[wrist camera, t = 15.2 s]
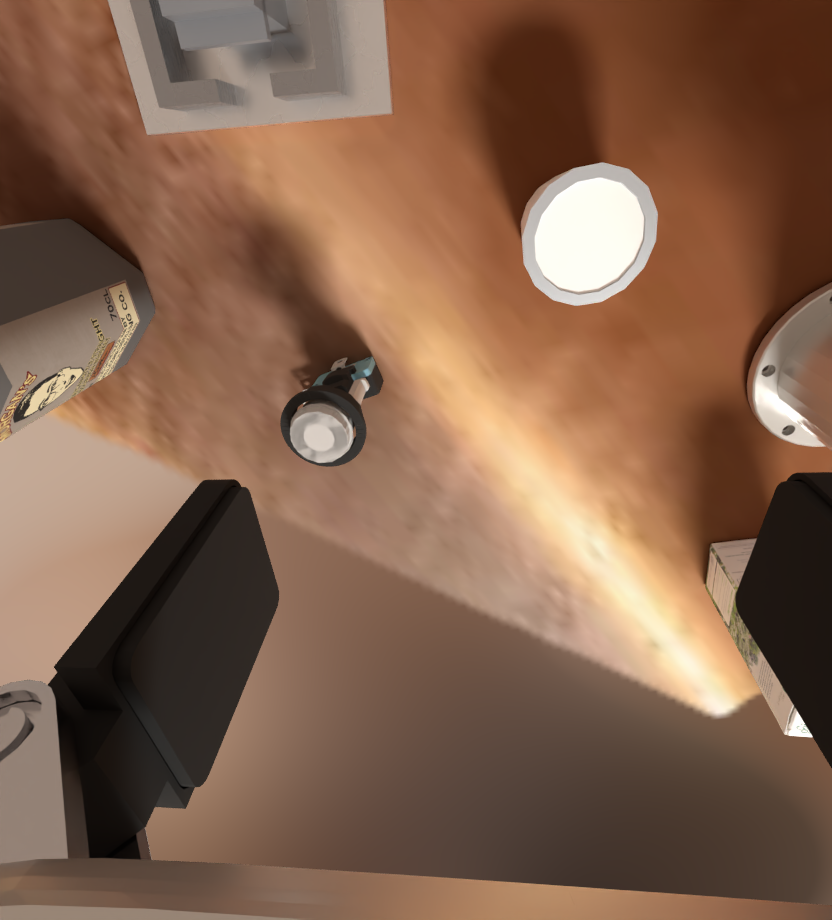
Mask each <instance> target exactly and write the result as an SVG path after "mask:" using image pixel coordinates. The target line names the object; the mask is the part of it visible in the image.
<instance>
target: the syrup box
mask: <svg viewBox="0 0 832 920" xmlns="http://www.w3.org/2000/svg"><path fill="white" fill-rule="evenodd" d="M756 540H757V538H755V539H745V540H736V541H729V542H720V543H712V544H710V551H709V561H708V569H707V578H706V586H705V587H706V590H707V592H708V594H709V596H710V597H711V599H712V601H713V603H714V605H715V607H716V609H717V610H718V612H719V614H720V616H721V618H722V620H723V621H724V623H725V625H726V627H727V629H728V631H729V633H730V635H731V636H732V638H733V640H734V642H735V644H736V646H737V648H738V650H739V651H740V653H741V655H742V657H743V659H744V661H745V662H746V664H747V666H748V668H749V670H750V672H751V673H752V675H753V677H754V679H755V681H756V683H757V684H758V686H759V688H760V690H761V692H762V694H763V695H764V697H765V699H766V701H767V703H768V705H769V706H770V708H771V710H772V712H773V714H774V716H775V717H776V719H777V721H778V723H779V725H780V727H781V728H782V731H783V733H784V734H786V735H789V736H801V737H813V736H812V735H811V733H810V732H809V730H808V728H807V727H806V725H805V723H804V722H803V720H802V718H801V717H800V715H799V713H798V712H797V710H796V708H795V707H794V705H793V703H792V702H791V700H790V698H789V697H788V695H787V694H786V692H785V690H784V689H783V687H782V685H781V684H780V682H779V680H778V679H777V677H776V675H775V674H774V672H773V670H772V669H771V667H770V665H769V664H768V662H767V660H766V659H765V657H764V656H763V654H762V652H761V651H760V649H759V647H758V646H757V644H756V642H755V641H754V639H753V637H752V636H751V634H750V632H749V631H748V629H747V627H746V626H745V624H744V623H743V621H742V619H741V618H740V616H739V614H738V612H737V608H736V603H735V596H736V592H737V589H738V587H739V584H740V581H741V579H742V576H743V574H744V571H745V568H746V566H747V563H748V561H749V558H750V555H751V553H752V550H753V548H754V545H755V542H756Z"/></svg>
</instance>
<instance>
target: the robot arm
mask: <svg viewBox="0 0 832 920" xmlns="http://www.w3.org/2000/svg"><path fill="white" fill-rule="evenodd" d="M747 394H748V401H749V404H750V407H751V409H752V412H753V414H754V415H755V416H756V418H757V419H758V421H759V422H760V423H761V424H762V425H763V426H764V427H765V428H766V429H768V430H769V431H770V432H771V433H772V434H774V435H775V436H777V437H778V438H780V439H782V440H785V441H788V442H790V443H793V444H796V445H803V446H810V447H828V448H829V449H830V450H831V451H832V282H831V283H829V284H827V285H825V286H824V287H822V288H820V289H818V290H816V291H814V292H813V293H811V294H809V295H808V296H807V297H805V298H804V299H802V300H801V301H800V302H798V303H797V304H796V305H794V306H793V307H792V308H791V309H790V310H789V311H788V312H786V313H785V314H784V315H783V316H782V317H781V318H780V319H779V320H778V321H777V322H776V323H775V325H774V326H773V327H772V328H771V330H770V331H769V332H768V333H767V335H766V336H765V337H764V339H763V340H762V342H761V344H760V346H759V348H758V349H757V351H756V353H755V355H754V358H753V360H752V363H751V366H750V369H749V373H748V380H747ZM278 601H279V590H278V586H277V582H276V579H275V575H274V572H273V569H272V565H271V562H270V559H269V555H268V552H267V549H266V545H265V542H264V538H263V535H262V532H261V528H260V525H259V521H258V518H257V514H256V511H255V508H254V504H253V501H252V498H251V494H250V492H249V490H248V489H247V488H246V487H241V485H240V484H239V482H238V481H236V480H204V481H203V482H201V483H200V484H199V486H198V487H197V488H196V489H195V491H194V492H193V494H191V496H190V497H189V498H188V500H187V501H186V502H185V503H184V504H183V506H182V507H181V508H180V509H179V511H178V512H177V513H176V515H175V516H174V517H173V518H172V519H171V521H170V522H169V523H168V524H167V526H166V527H165V528H164V529H163V531H162V532H161V533H160V534H159V536H158V537H157V538H156V540H155V541H154V542H153V543H152V545H151V546H150V547H149V548H148V550H147V551H146V552H145V553H144V555H143V556H142V557H141V558H140V560H139V561H138V562H137V564H136V565H135V566H134V567H133V568H132V570H131V571H130V572H129V573H128V575H127V576H126V577H125V578H124V580H123V581H122V582H121V583H120V585H119V586H118V587H117V589H116V590H115V591H114V592H113V593H112V595H111V596H110V597H109V599H108V600H107V601H106V602H105V603H104V605H103V606H102V607H101V608H100V610H99V611H98V612H97V614H96V615H95V616H94V617H93V618H92V620H91V621H90V622H89V623H88V625H87V626H86V627H85V629H84V630H83V631H82V632H81V634H80V635H79V636H78V638H77V639H76V640H75V641H74V642H73V644H72V645H71V646H70V647H69V649H68V650H67V651H66V652H65V654H64V655H63V656H62V657H61V659H60V660H59V661H58V662H57V664H56V665H55V666H54V668H55V669H56V671H57V674H56V675H55V677H54V678H53V679H52V680H51V681H50V683H49V684H48V685H46V684H45V683H43V682H41V681H33V680H24V681H18V682H12V683H9V684H6V685H3V686H0V920H832V906H831V905H818V904H804V903H790V902H777V901H765V900H752V899H738V898H725V897H711V896H698V895H683V894H669V893H655V892H640V891H627V890H613V889H599V888H585V887H570V886H556V885H542V884H527V883H513V882H498V881H485V880H470V879H456V878H455V879H454V878H441V877H427V876H411V875H396V874H381V873H380V874H379V873H365V872H364V873H363V872H350V871H334V870H318V869H304V868H287V867H272V866H256V865H241V864H225V863H204V862H203V863H202V862H181V861H159V860H152V859H151V854H150V849H149V844H148V840H147V835H146V830H145V827H146V824H147V822H148V820H149V818H150V816H151V814H152V812H153V809H154V808H155V807H166V808H184V809H185V808H186V807H187V804H188V802H189V799H190V797H191V795H192V792H193V790H194V788H195V787H200V786H201V785H203V783H204V782H205V781H206V779H207V777H208V775H209V773H210V770H211V768H212V766H213V763H214V760H215V758H216V756H217V753H218V751H219V748H220V746H221V743H222V741H223V738H224V736H225V734H226V731H227V729H228V726H229V724H230V721H231V719H232V716H233V714H234V712H235V709H236V707H237V704H238V702H239V699H240V697H241V695H242V692H243V690H244V687H245V685H246V682H247V680H248V677H249V675H250V672H251V670H252V668H253V665H254V663H255V660H256V658H257V655H258V653H259V650H260V648H261V645H262V643H263V641H264V638H265V636H266V633H267V631H268V628H269V626H270V623H271V621H272V619H273V616H274V614H275V611H276V608H277V606H278ZM735 603H736V608H737V612H738V614H739V616H740V618H741V619H742V621H743V623H744V624H745V626H746V627H747V629H748V631H749V632H750V634H751V636H752V637H753V639H754V641H755V642H756V644H757V646H758V647H759V649H760V651H761V652H762V654H763V656H764V657H765V659H766V660H767V662H768V664H769V665H770V667H771V669H772V670H773V672H774V674H775V675H776V677H777V679H778V680H779V682H780V684H781V685H782V687H783V689H784V690H785V692H786V694H787V695H788V697H789V698H790V700H791V702H792V703H793V705H794V707H795V708H796V710H797V712H798V713H799V715H800V717H801V718H802V720H803V722H804V723H805V725H806V727H807V728H808V730H809V732H810V733H811V735H812V736H813V738H814V740H815V741H816V743H817V744H818V746H819V748H820V750H821V751H822V753H823V755H824V756H825V758H826V759H827V761H828V763H829V764H830V766H831V768H832V472H822V473H795V474H792V475H791V476H790V477H789V478H788V480H787V481H785V482H781V483H780V484H779V485H778V486H777V488H776V490H775V493H774V495H773V498H772V501H771V503H770V506H769V508H768V511H767V514H766V516H765V519H764V521H763V524H762V527H761V529H760V532H759V535H758V537H757V540H756V542H755V545H754V548H753V550H752V553H751V555H750V558H749V561H748V563H747V566H746V568H745V571H744V574H743V576H742V579H741V581H740V584H739V587H738V589H737V592H736V596H735Z"/></svg>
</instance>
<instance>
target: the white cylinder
mask: <svg viewBox="0 0 832 920" xmlns="http://www.w3.org/2000/svg"><path fill="white" fill-rule="evenodd" d="M657 214H658V212H657V210H656V207H655V204H654V201H653V199H652V196H651V193H650V190H649V188H648V186H647V185H646V184H644V183H643V182H642V181H641V180H640V179H639V178H638V177H637V176H636V175H635V174H634V173H633V172H631V171H630V170H629V169H626V168H622V167H619V166H615V165H611V164H607V163H603V162H602V163H597V164H592V165H587V166H582V167H577V168H573V169H571V170H569V171H567V172H564V173H562V174H560V175H557V176H555V177H554V178H552V179H551V180H549V181H548V182H546V183H545V184H543V185H542V186H540V187H539V188H538V189H537V190H536V191H535V193H534V194H533V196H532V197H531V198H530V200H529V201H528V202H527V204H526V207H525V210H524V213H523V217H522V220H521V234H522V247H523V258H524V265H525V267H526V269H527V271H528V273H529V275H530V277H531V279H532V281H533V283H534V285H535V286H536V287H537V288H538V289H540V290H541V291H542V292H544V293H545V294H546V295H547V296H549V297H550V298H551V299H552V300H555V301H559V302H563V303H567V304H571V305H575V306H578V305H584V304H591V303H597V302H602V301H604V300H605V299H607V298H609V297H611V296H613V295H614V294H616V293H618V292H620V291H622V290H623V289H625V288H626V287H627V286H628V285H629V284H630V282H631V281H632V280H633V279H634V278H635V277H636V276H637V275H638V274H639V273H640V272H641V270H642V269H643V268H644V267H645V264H646V262H647V260H648V258H649V255H650V253H651V251H652V249H653V246H654V244H655V242H656V230H657Z"/></svg>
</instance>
